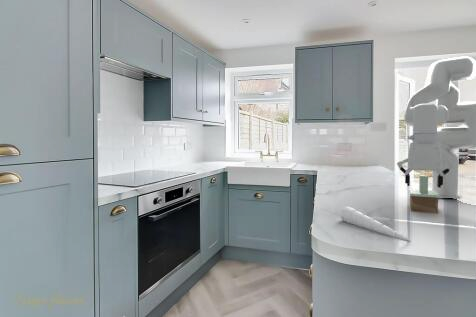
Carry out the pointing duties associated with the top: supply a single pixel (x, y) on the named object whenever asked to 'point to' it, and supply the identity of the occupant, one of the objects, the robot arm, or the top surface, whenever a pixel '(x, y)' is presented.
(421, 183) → the mint green stepped block
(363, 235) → the top surface
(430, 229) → the top surface
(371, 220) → the unicorn horn
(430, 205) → the box
